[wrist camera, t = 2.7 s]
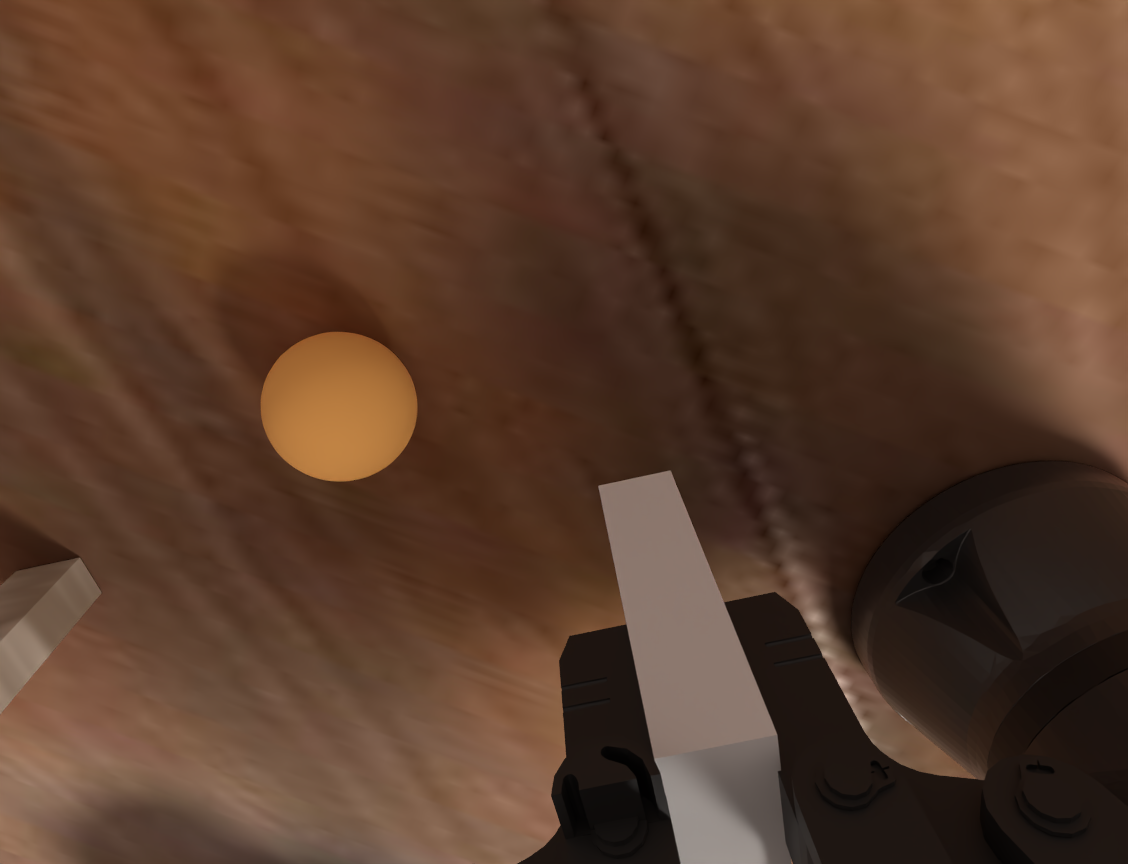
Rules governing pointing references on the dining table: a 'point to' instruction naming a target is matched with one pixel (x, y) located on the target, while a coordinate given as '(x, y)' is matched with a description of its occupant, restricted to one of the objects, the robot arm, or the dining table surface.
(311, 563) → the dining table surface
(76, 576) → the bridge
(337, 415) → the ball
